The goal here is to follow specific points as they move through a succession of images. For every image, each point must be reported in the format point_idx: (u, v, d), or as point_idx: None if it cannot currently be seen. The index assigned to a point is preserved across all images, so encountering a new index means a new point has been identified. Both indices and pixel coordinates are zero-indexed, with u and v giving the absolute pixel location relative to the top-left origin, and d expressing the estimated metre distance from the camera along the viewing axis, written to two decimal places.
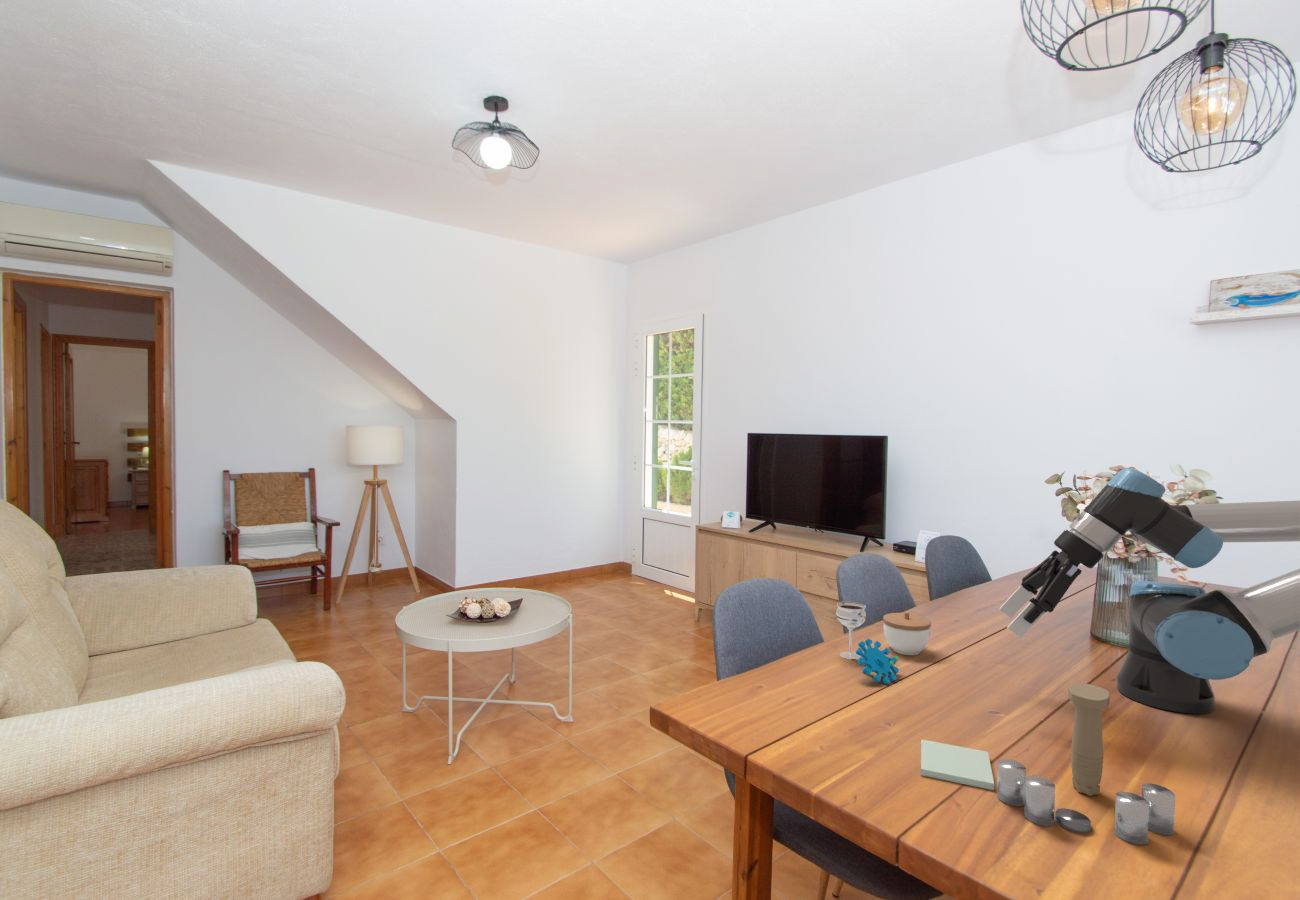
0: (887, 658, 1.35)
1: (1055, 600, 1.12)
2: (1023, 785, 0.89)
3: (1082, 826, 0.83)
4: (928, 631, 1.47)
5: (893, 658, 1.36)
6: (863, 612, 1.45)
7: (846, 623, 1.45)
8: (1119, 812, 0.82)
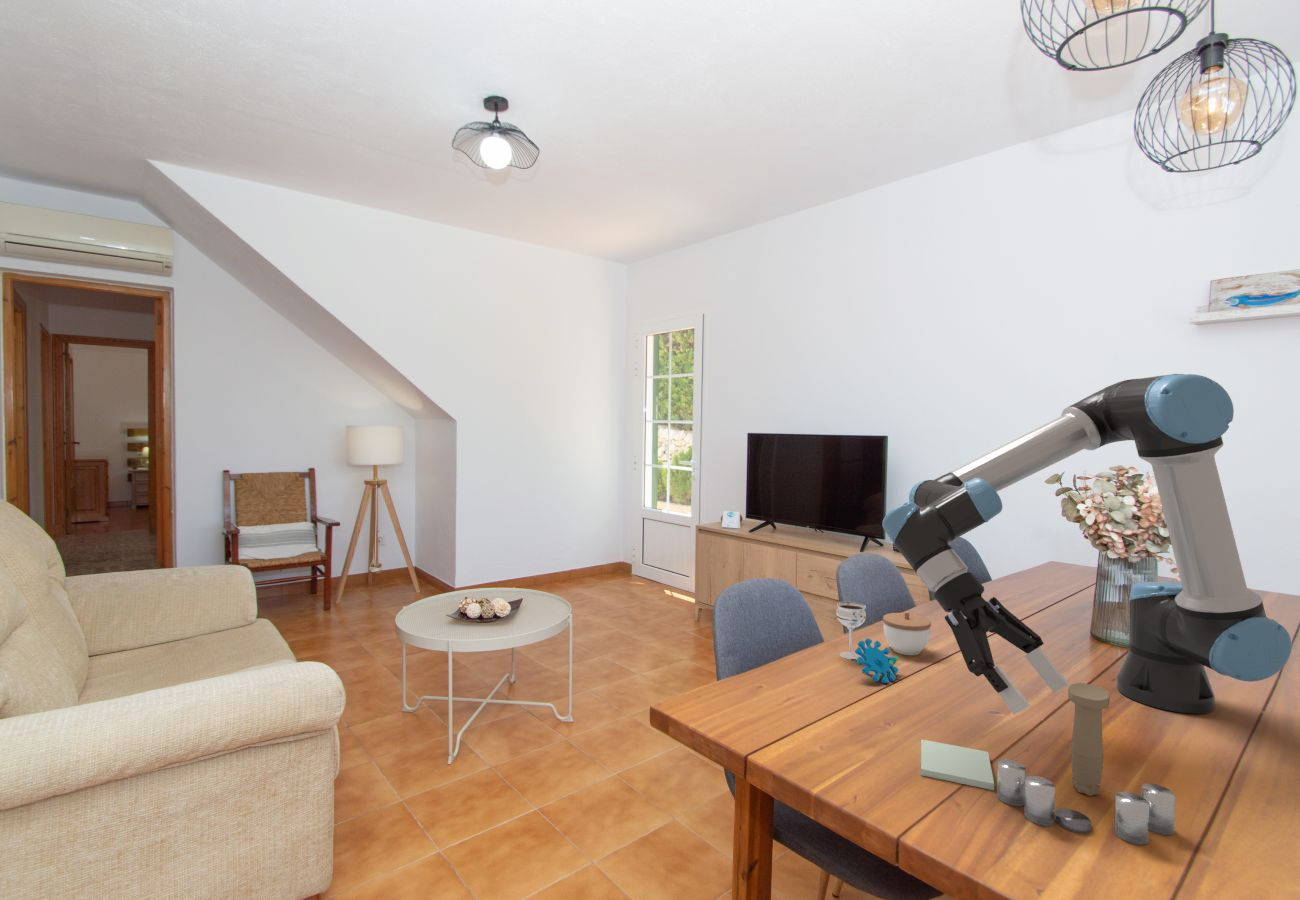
0: (887, 658, 1.35)
1: (972, 652, 0.96)
2: (1023, 785, 0.89)
3: (1082, 826, 0.83)
4: (928, 631, 1.47)
5: (893, 657, 1.36)
6: (863, 612, 1.45)
7: (846, 623, 1.45)
8: (1119, 812, 0.82)
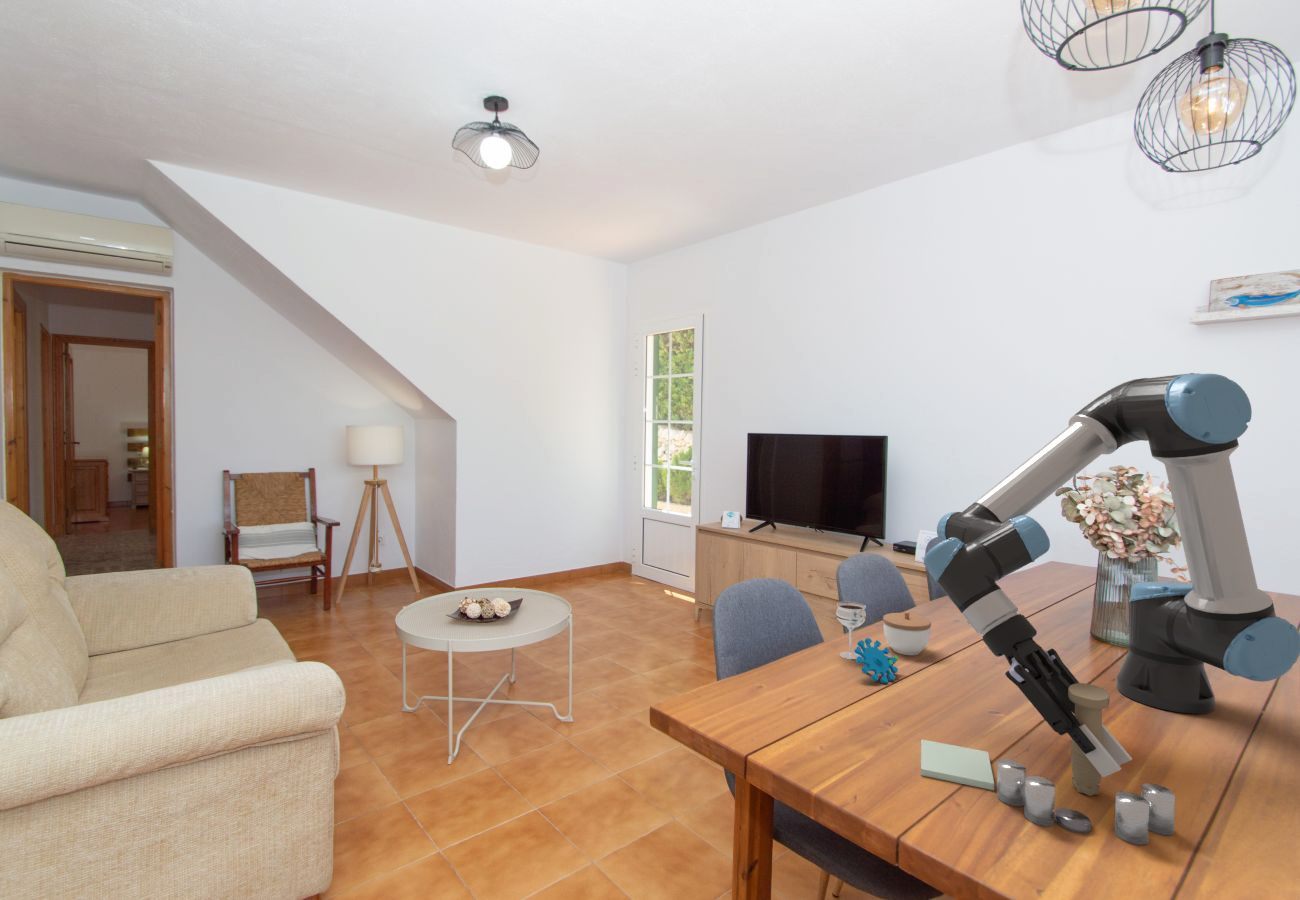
0: (886, 657, 1.35)
1: (1054, 713, 0.91)
2: (1023, 785, 0.89)
3: (1083, 826, 0.83)
4: (928, 631, 1.47)
5: (893, 657, 1.36)
6: (863, 612, 1.45)
7: (846, 623, 1.45)
8: (1119, 812, 0.82)
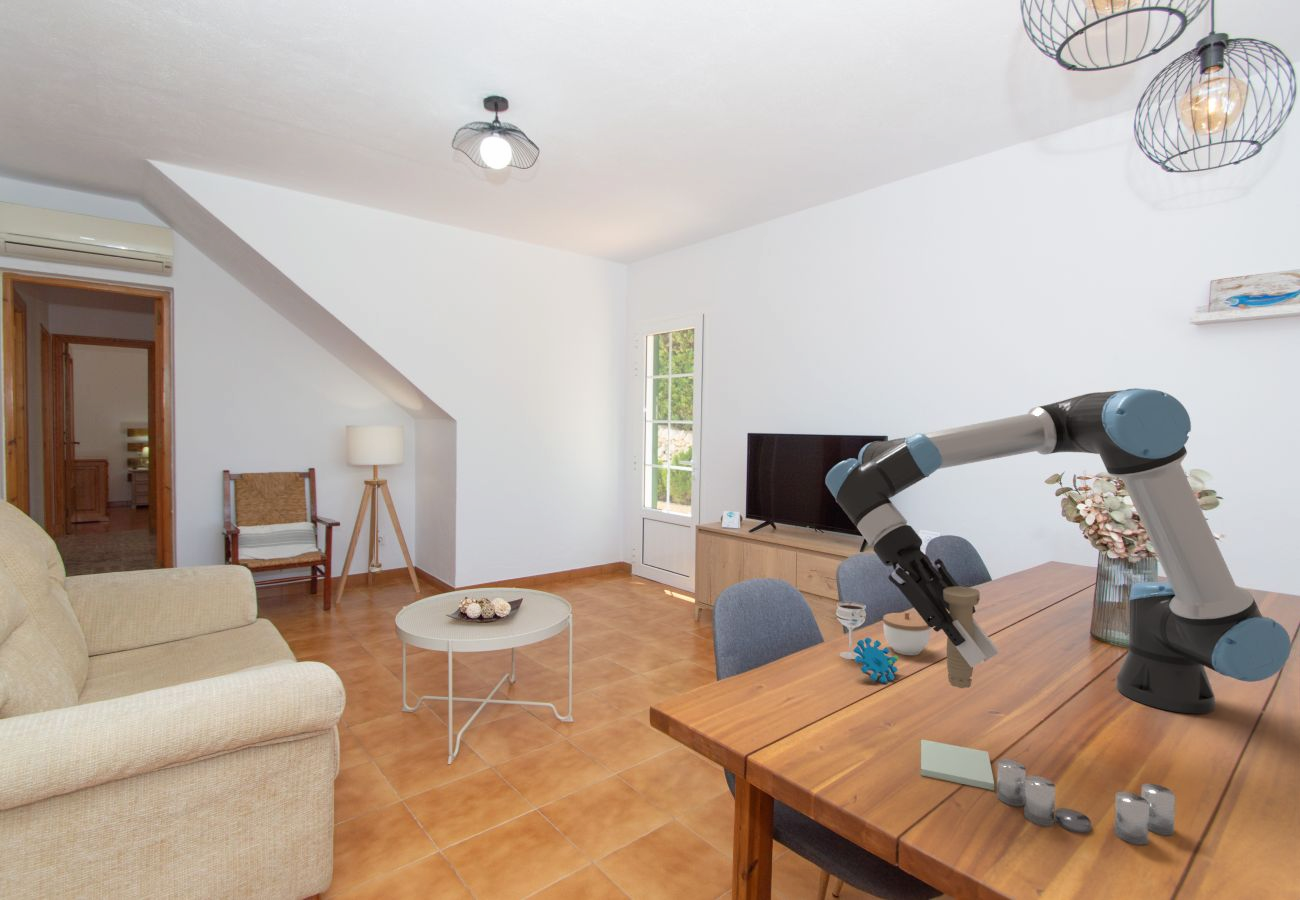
0: (886, 657, 1.35)
1: (928, 609, 0.97)
2: (1023, 785, 0.89)
3: (1083, 826, 0.83)
4: (928, 631, 1.47)
5: (893, 657, 1.36)
6: (863, 612, 1.45)
7: (846, 623, 1.45)
8: (1119, 812, 0.82)
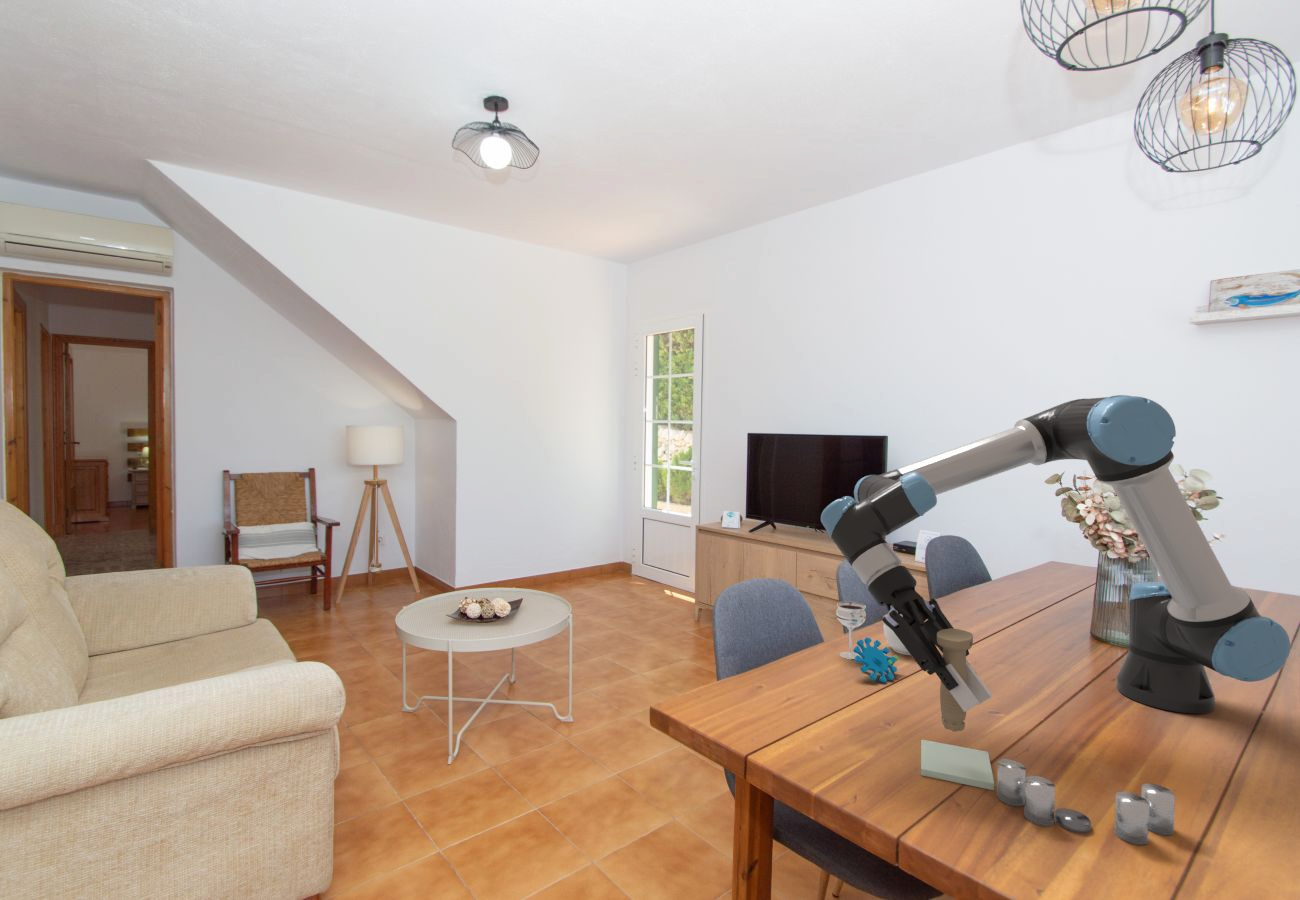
0: (886, 657, 1.35)
1: (922, 653, 0.97)
2: (1023, 785, 0.89)
3: (1083, 826, 0.83)
4: None
5: (893, 657, 1.36)
6: (863, 612, 1.45)
7: (846, 623, 1.45)
8: (1119, 812, 0.82)
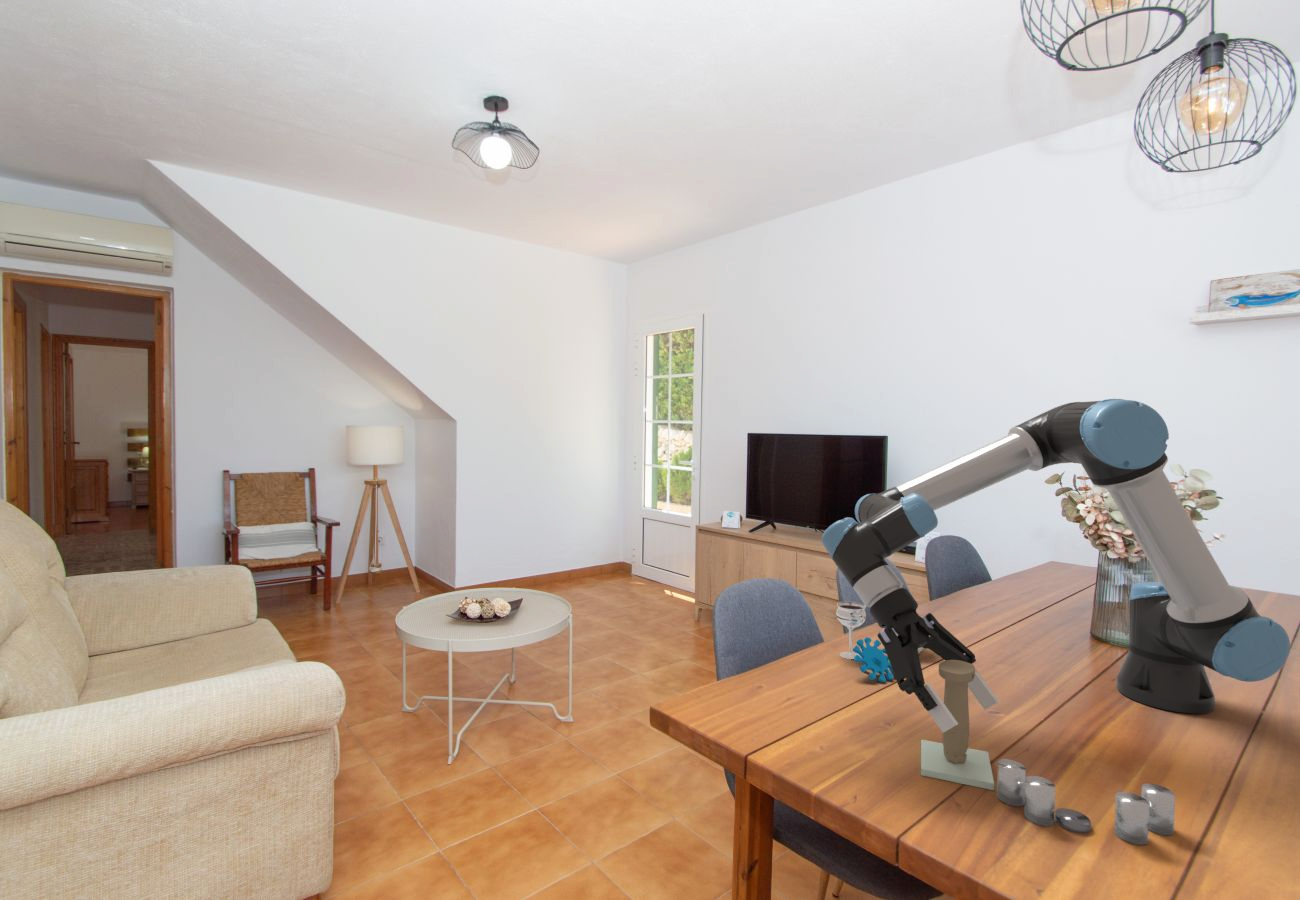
0: (886, 657, 1.36)
1: (902, 671, 0.96)
2: (1023, 785, 0.89)
3: (1083, 826, 0.83)
4: None
5: None
6: (863, 612, 1.45)
7: (846, 623, 1.45)
8: (1119, 812, 0.82)
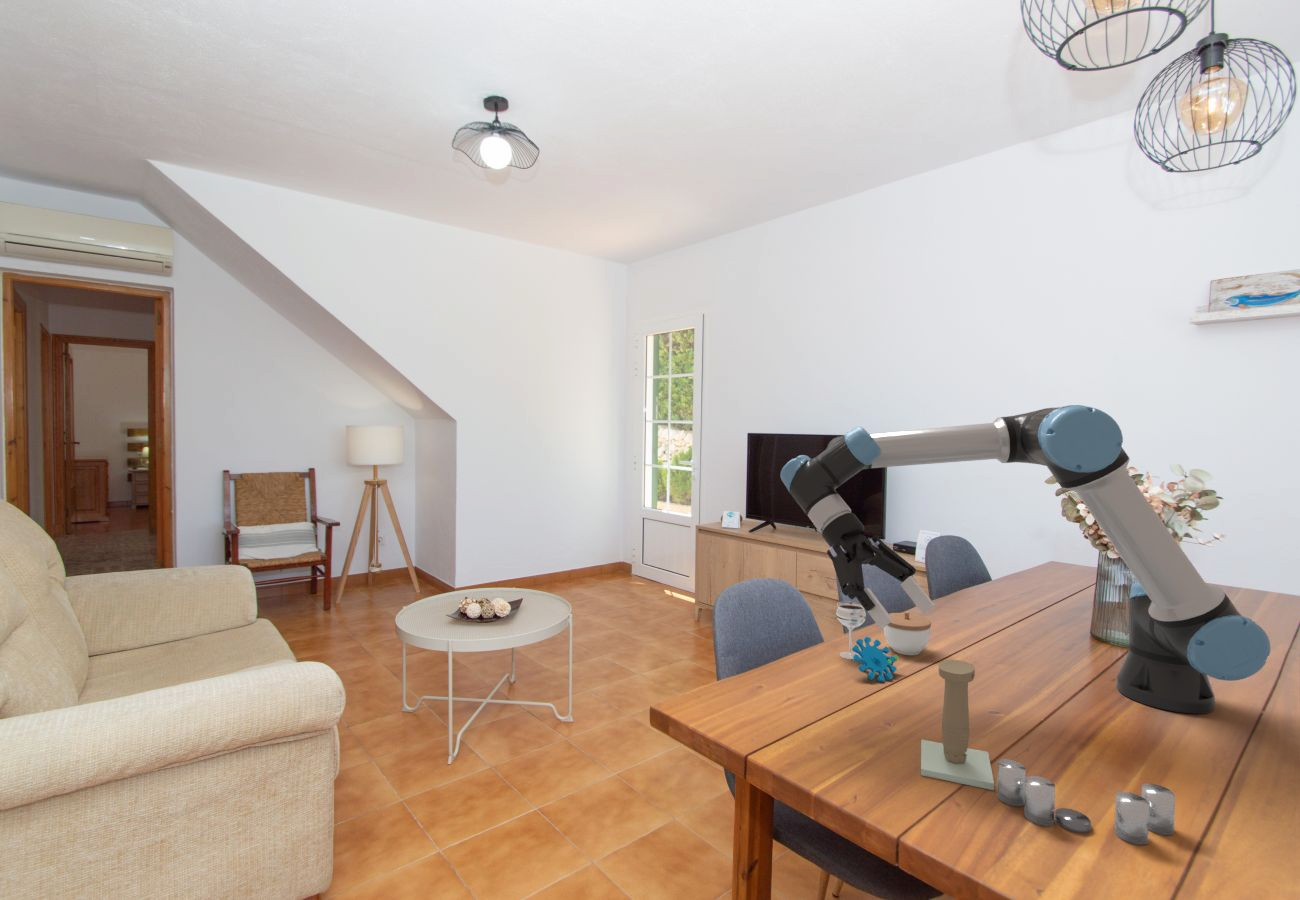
0: (885, 657, 1.36)
1: (845, 578, 1.09)
2: (1023, 785, 0.89)
3: (1084, 826, 0.83)
4: (928, 631, 1.47)
5: (892, 657, 1.36)
6: (863, 612, 1.45)
7: (846, 623, 1.45)
8: (1119, 812, 0.82)
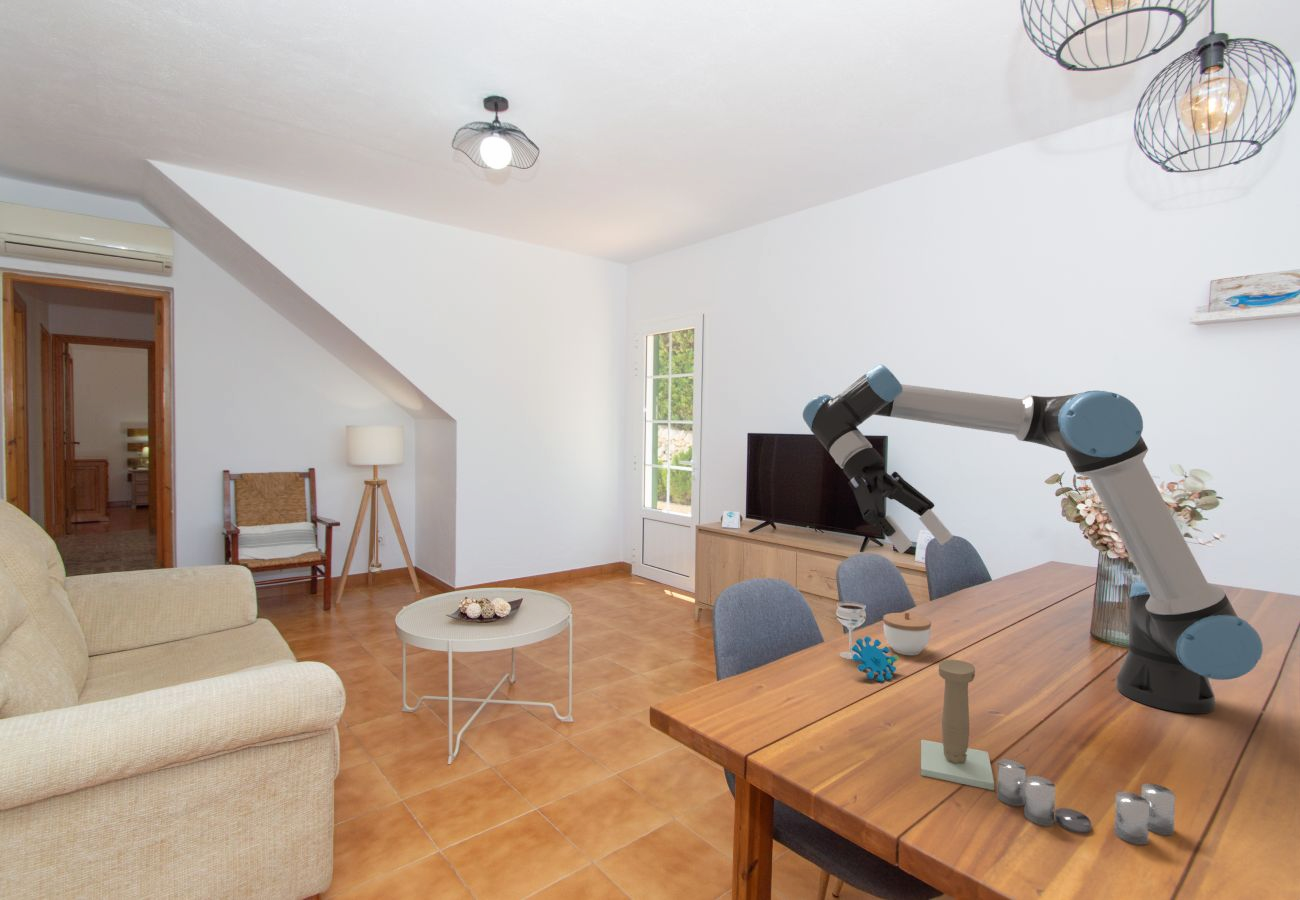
0: (885, 657, 1.36)
1: (867, 505, 1.12)
2: (1023, 785, 0.89)
3: (1084, 826, 0.83)
4: (928, 631, 1.47)
5: (892, 657, 1.36)
6: (863, 612, 1.45)
7: (846, 623, 1.45)
8: (1119, 812, 0.82)
